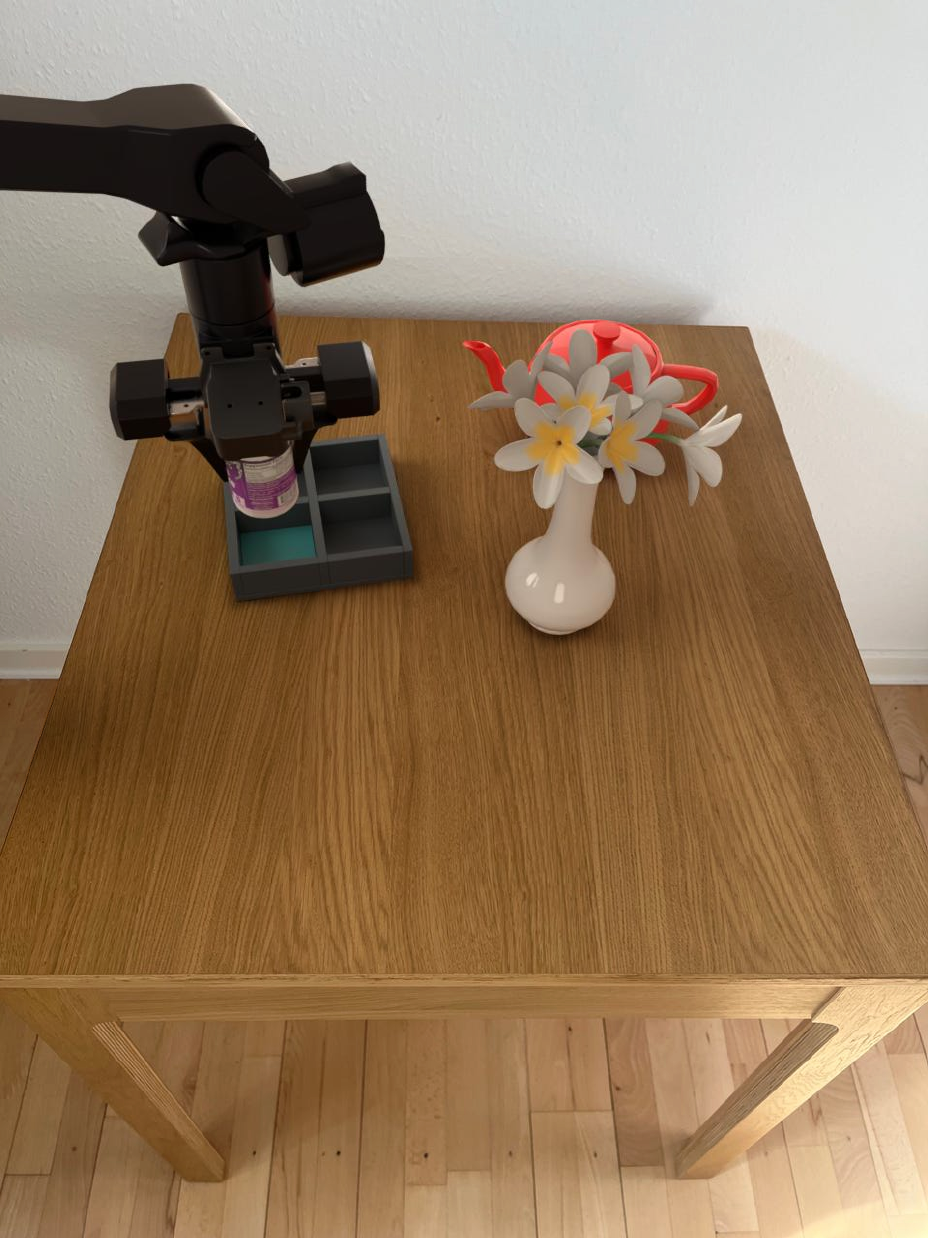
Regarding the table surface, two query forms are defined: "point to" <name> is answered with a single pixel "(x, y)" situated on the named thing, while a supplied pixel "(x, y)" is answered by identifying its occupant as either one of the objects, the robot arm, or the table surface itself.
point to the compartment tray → (325, 526)
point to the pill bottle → (264, 484)
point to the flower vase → (588, 468)
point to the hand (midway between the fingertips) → (261, 474)
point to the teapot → (608, 342)
